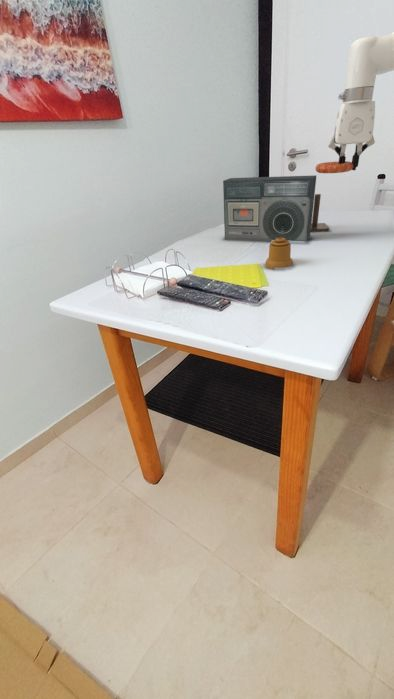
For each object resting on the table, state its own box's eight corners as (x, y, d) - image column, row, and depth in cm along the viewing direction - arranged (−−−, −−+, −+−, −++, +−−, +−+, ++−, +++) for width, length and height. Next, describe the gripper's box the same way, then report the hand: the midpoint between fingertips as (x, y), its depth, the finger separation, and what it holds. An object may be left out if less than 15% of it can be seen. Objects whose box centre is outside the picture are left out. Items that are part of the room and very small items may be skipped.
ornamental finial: (284, 273, 92) (260, 268, 96) (296, 265, 96) (273, 261, 101) (286, 243, 87) (261, 240, 92) (299, 236, 92) (275, 234, 96)
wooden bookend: (324, 226, 130) (328, 191, 124) (328, 232, 123) (333, 195, 116) (300, 227, 132) (303, 193, 125) (302, 233, 125) (306, 197, 118)
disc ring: (347, 168, 109) (348, 160, 107) (356, 172, 100) (357, 162, 98) (313, 171, 110) (313, 162, 109) (318, 174, 101) (319, 165, 100)
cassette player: (224, 241, 124) (223, 180, 113) (231, 236, 129) (230, 178, 118) (306, 244, 112) (312, 178, 102) (309, 239, 117) (316, 175, 107)
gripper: (330, 98, 93) (322, 173, 103) (393, 92, 90) (379, 169, 100) (325, 100, 99) (317, 171, 109) (384, 95, 96) (371, 167, 106)
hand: (347, 169), depth 104 cm, fingers closed on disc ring, 2 cm apart
